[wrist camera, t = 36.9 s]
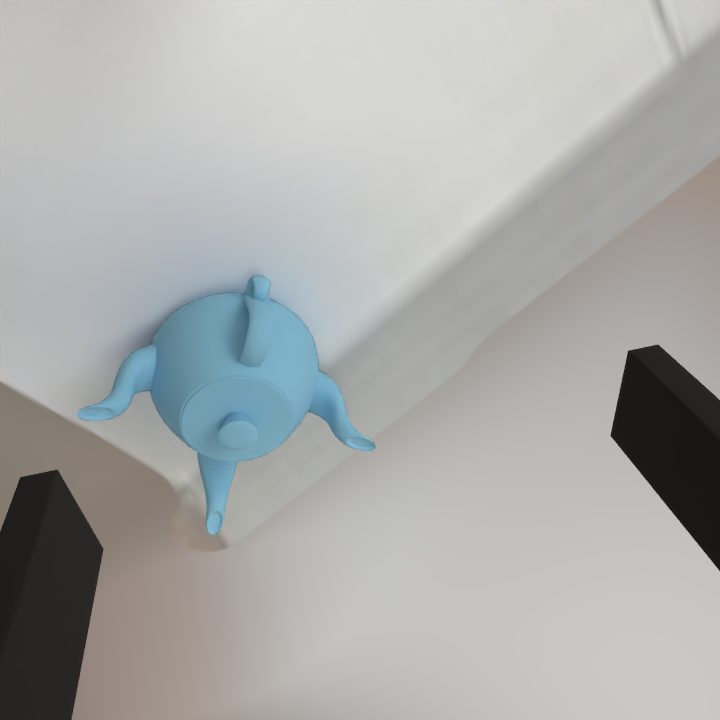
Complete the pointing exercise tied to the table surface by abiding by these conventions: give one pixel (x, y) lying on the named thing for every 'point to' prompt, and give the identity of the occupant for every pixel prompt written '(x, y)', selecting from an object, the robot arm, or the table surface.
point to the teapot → (231, 384)
